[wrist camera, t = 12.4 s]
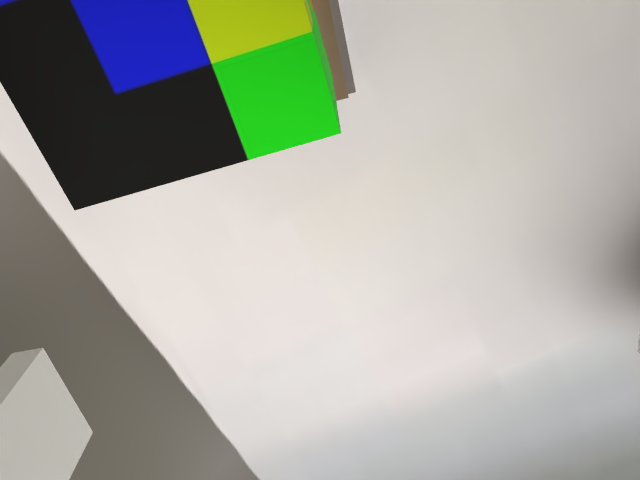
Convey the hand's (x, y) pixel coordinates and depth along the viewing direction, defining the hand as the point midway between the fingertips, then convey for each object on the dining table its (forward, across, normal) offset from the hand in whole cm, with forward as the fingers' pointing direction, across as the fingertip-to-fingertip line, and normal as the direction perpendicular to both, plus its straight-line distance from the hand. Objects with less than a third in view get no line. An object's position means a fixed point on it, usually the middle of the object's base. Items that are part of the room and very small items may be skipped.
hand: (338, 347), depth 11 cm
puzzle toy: (+18, +5, -7) cm, 20 cm away
